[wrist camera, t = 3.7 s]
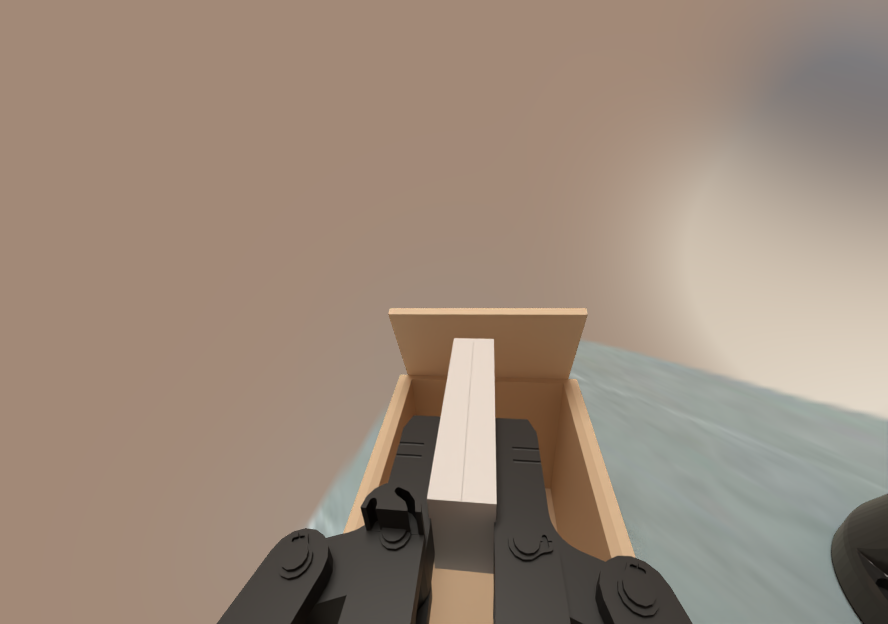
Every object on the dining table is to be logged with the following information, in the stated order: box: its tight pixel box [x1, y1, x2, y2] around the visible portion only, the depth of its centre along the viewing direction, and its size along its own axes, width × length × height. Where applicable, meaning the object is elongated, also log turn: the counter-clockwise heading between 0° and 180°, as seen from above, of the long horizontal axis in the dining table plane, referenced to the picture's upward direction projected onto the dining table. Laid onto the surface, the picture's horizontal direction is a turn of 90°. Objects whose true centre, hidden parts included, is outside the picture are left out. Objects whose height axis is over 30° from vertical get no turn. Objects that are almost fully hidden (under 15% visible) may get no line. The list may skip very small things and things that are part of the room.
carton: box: [343, 375, 636, 624], centre depth 22 cm, size 16×13×12 cm
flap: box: [388, 308, 588, 379], centre depth 24 cm, size 7×12×1 cm
